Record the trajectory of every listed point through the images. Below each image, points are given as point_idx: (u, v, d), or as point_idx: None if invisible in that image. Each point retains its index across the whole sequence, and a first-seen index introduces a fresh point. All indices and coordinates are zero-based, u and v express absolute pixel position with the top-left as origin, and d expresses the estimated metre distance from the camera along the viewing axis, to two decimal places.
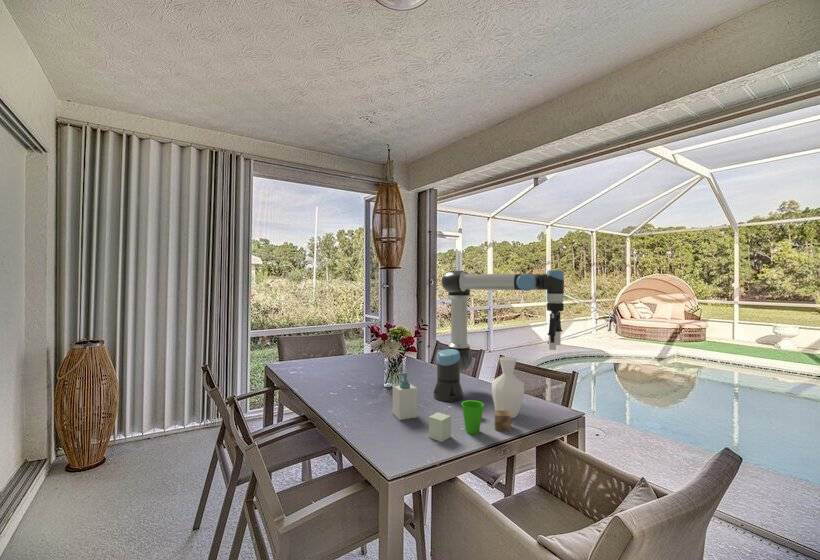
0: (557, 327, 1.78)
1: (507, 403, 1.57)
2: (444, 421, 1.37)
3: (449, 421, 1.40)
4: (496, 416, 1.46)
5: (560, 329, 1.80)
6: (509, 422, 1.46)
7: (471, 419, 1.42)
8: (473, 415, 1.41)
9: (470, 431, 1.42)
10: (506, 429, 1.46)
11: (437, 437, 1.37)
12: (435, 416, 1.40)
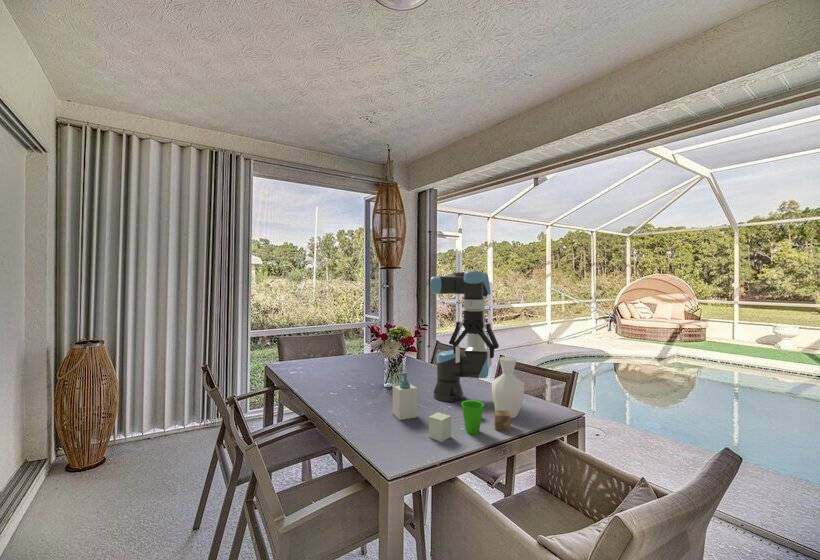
0: None
1: (507, 403, 1.57)
2: (444, 421, 1.37)
3: (449, 421, 1.40)
4: (496, 416, 1.46)
5: (491, 347, 1.40)
6: (509, 422, 1.46)
7: (471, 419, 1.42)
8: (473, 415, 1.41)
9: (470, 431, 1.42)
10: (506, 429, 1.46)
11: (437, 437, 1.37)
12: (435, 416, 1.40)
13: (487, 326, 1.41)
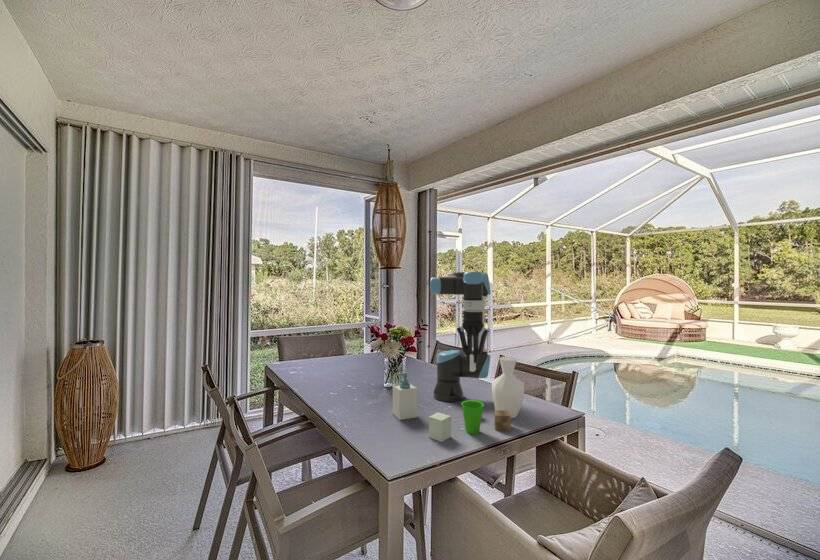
0: None
1: (507, 403, 1.57)
2: (444, 421, 1.37)
3: (449, 421, 1.40)
4: (496, 416, 1.46)
5: (476, 353, 1.43)
6: (509, 422, 1.45)
7: (471, 419, 1.42)
8: (473, 415, 1.41)
9: (470, 431, 1.42)
10: (506, 429, 1.46)
11: (437, 437, 1.37)
12: (435, 416, 1.40)
13: (485, 332, 1.41)
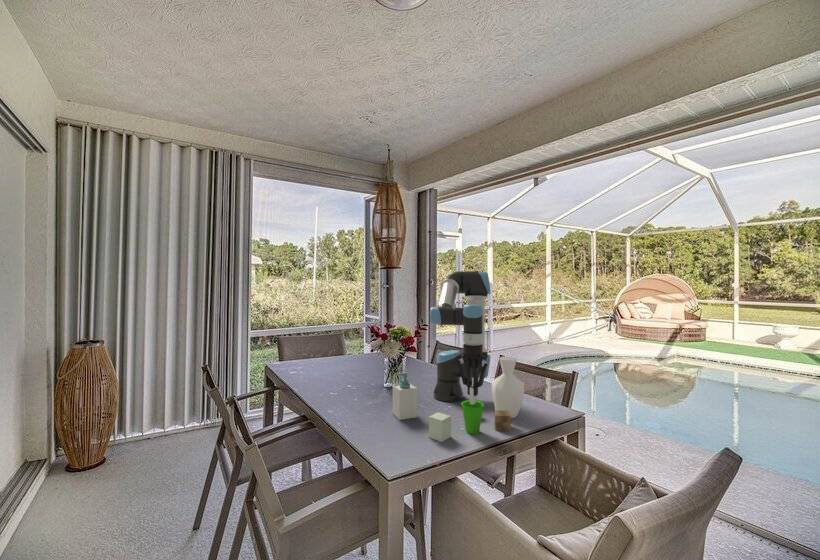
0: None
1: (507, 403, 1.57)
2: (444, 421, 1.37)
3: (449, 421, 1.40)
4: (496, 416, 1.46)
5: (476, 386, 1.43)
6: (509, 422, 1.45)
7: (471, 419, 1.42)
8: (473, 415, 1.41)
9: (470, 431, 1.42)
10: (506, 429, 1.46)
11: (437, 437, 1.37)
12: (435, 416, 1.40)
13: (484, 365, 1.41)
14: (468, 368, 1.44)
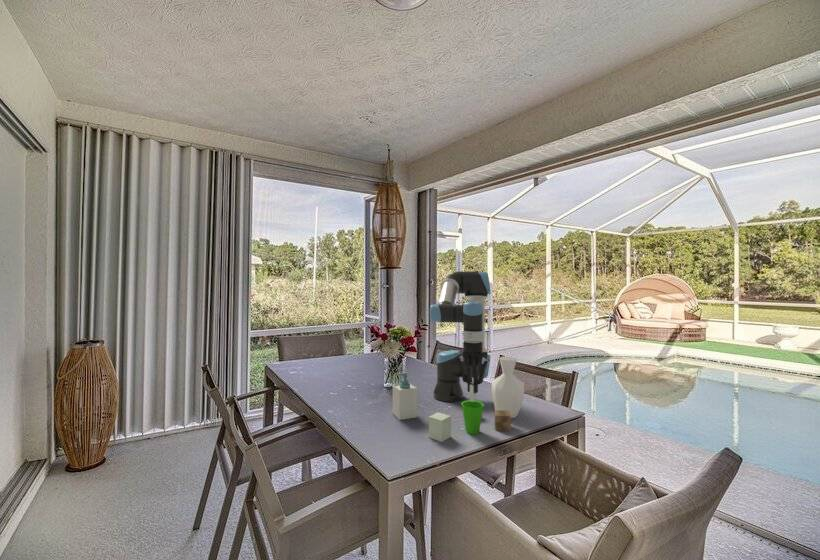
0: None
1: (507, 403, 1.57)
2: (444, 421, 1.37)
3: (449, 421, 1.40)
4: (496, 416, 1.46)
5: (476, 383, 1.43)
6: (509, 422, 1.45)
7: (471, 419, 1.42)
8: (473, 415, 1.41)
9: (470, 431, 1.42)
10: (506, 429, 1.46)
11: (437, 437, 1.37)
12: (435, 416, 1.40)
13: (484, 363, 1.41)
14: (468, 365, 1.44)
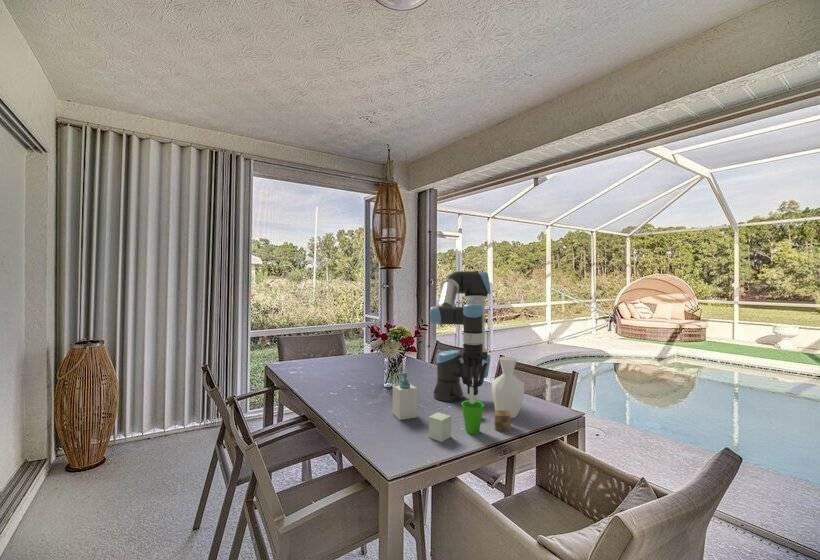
0: None
1: (507, 403, 1.57)
2: (444, 421, 1.37)
3: (449, 421, 1.40)
4: (496, 416, 1.46)
5: (476, 385, 1.43)
6: (509, 422, 1.45)
7: (471, 419, 1.42)
8: (473, 415, 1.41)
9: (470, 431, 1.42)
10: (506, 429, 1.46)
11: (437, 437, 1.37)
12: (435, 416, 1.40)
13: (484, 365, 1.41)
14: (468, 367, 1.44)
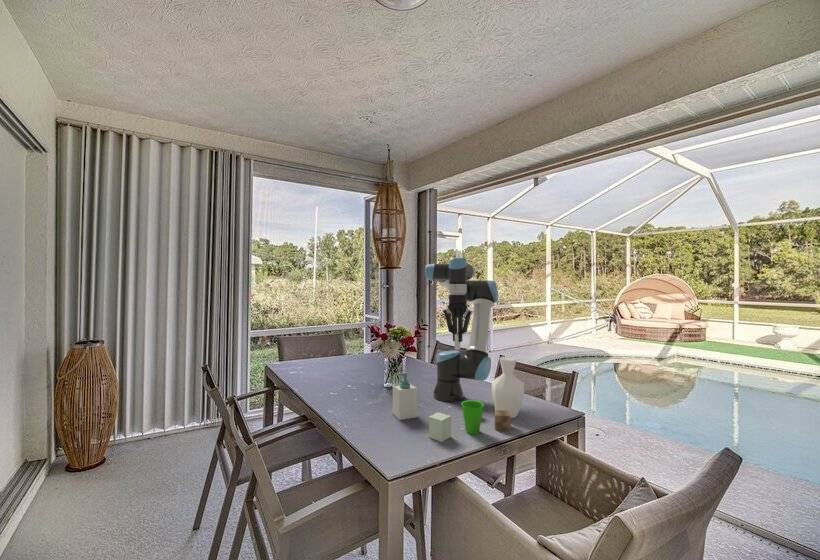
0: None
1: (507, 403, 1.57)
2: (444, 421, 1.37)
3: (449, 421, 1.40)
4: (496, 416, 1.46)
5: (460, 333, 1.55)
6: (509, 422, 1.45)
7: (471, 419, 1.42)
8: (473, 415, 1.41)
9: (470, 431, 1.42)
10: (506, 429, 1.46)
11: (437, 437, 1.37)
12: (435, 416, 1.40)
13: (468, 313, 1.53)
14: (453, 316, 1.56)
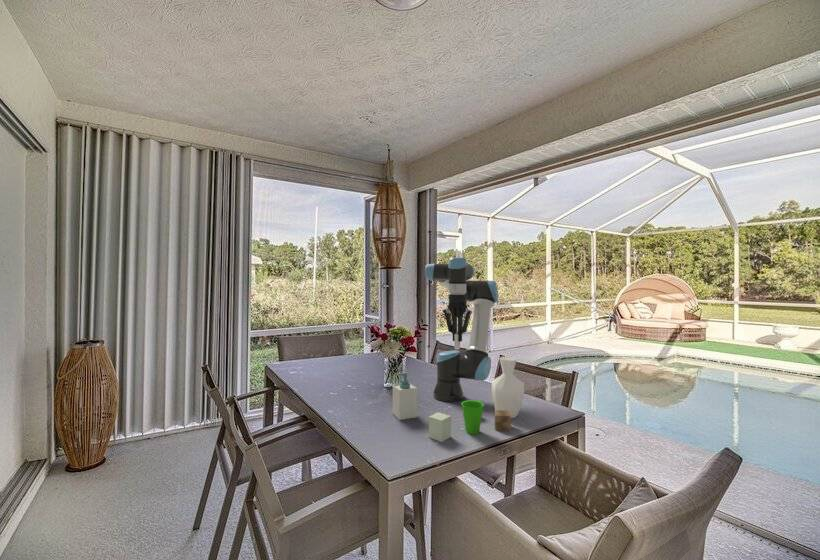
0: None
1: (507, 403, 1.57)
2: (444, 421, 1.37)
3: (449, 421, 1.40)
4: (496, 416, 1.46)
5: (460, 332, 1.55)
6: (509, 422, 1.45)
7: (471, 419, 1.42)
8: (473, 415, 1.41)
9: (470, 431, 1.42)
10: (506, 429, 1.46)
11: (437, 437, 1.37)
12: (435, 416, 1.40)
13: (468, 312, 1.53)
14: (453, 316, 1.56)
